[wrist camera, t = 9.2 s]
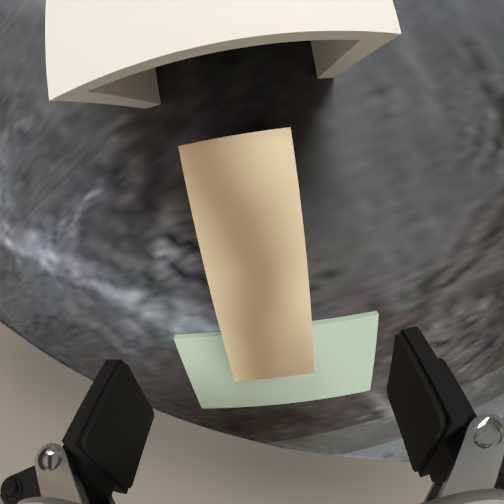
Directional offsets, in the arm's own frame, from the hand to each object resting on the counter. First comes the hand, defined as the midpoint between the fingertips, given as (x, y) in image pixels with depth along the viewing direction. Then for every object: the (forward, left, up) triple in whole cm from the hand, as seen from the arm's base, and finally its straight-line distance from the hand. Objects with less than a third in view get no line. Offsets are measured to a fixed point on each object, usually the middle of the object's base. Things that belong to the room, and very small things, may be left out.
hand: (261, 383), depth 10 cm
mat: (0, +13, -14) cm, 19 cm away
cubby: (0, -18, -14) cm, 23 cm away
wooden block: (0, -1, -14) cm, 14 cm away
